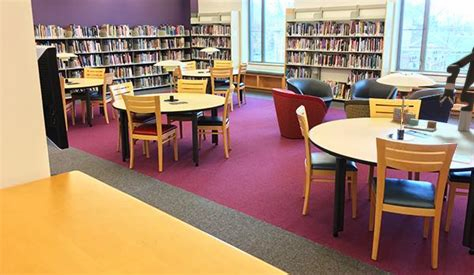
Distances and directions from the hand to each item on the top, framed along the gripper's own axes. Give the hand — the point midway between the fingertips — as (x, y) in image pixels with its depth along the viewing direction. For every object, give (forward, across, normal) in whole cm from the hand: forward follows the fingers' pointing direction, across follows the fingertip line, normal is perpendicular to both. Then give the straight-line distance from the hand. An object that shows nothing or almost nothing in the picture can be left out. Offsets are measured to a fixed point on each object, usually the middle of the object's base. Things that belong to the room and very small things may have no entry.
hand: (445, 107), depth 352 cm
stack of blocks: (+20, +37, -20) cm, 46 cm away
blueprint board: (+21, +17, +4) cm, 27 cm away
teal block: (+20, +24, -7) cm, 32 cm away
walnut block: (+20, +9, -6) cm, 23 cm away
